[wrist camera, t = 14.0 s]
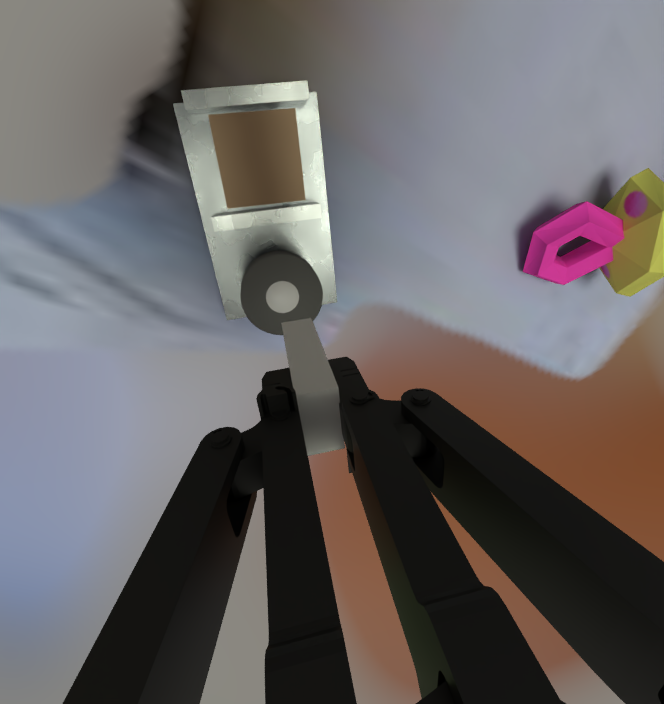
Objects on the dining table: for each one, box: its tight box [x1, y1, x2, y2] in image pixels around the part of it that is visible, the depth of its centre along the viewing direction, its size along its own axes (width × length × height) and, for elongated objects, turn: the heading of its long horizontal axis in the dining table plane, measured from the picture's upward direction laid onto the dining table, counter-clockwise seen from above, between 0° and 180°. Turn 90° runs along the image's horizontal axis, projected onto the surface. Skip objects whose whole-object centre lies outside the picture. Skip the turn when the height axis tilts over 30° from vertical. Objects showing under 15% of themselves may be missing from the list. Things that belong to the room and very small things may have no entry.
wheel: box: [240, 250, 323, 335], centre depth 28 cm, size 6×6×4 cm
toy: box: [523, 168, 664, 296], centre depth 34 cm, size 10×18×10 cm, turn 101°
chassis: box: [173, 81, 337, 320], centre depth 29 cm, size 10×16×4 cm, turn 6°
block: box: [208, 108, 306, 209], centre depth 25 cm, size 5×5×6 cm
